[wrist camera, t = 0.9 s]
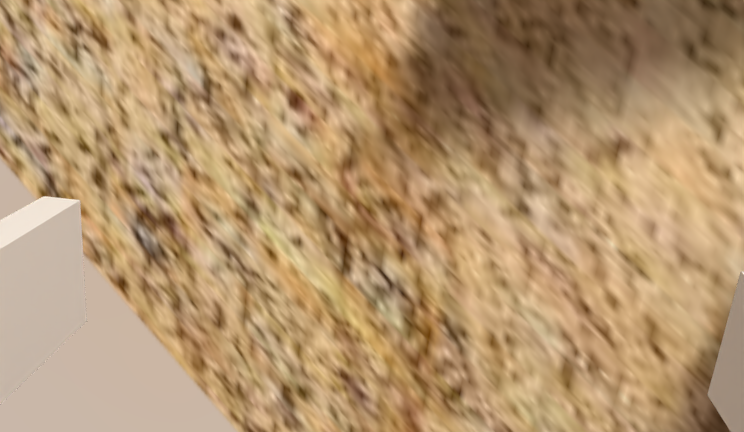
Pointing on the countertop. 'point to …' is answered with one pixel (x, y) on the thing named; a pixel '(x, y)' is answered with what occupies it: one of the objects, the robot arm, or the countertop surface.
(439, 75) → the countertop surface
